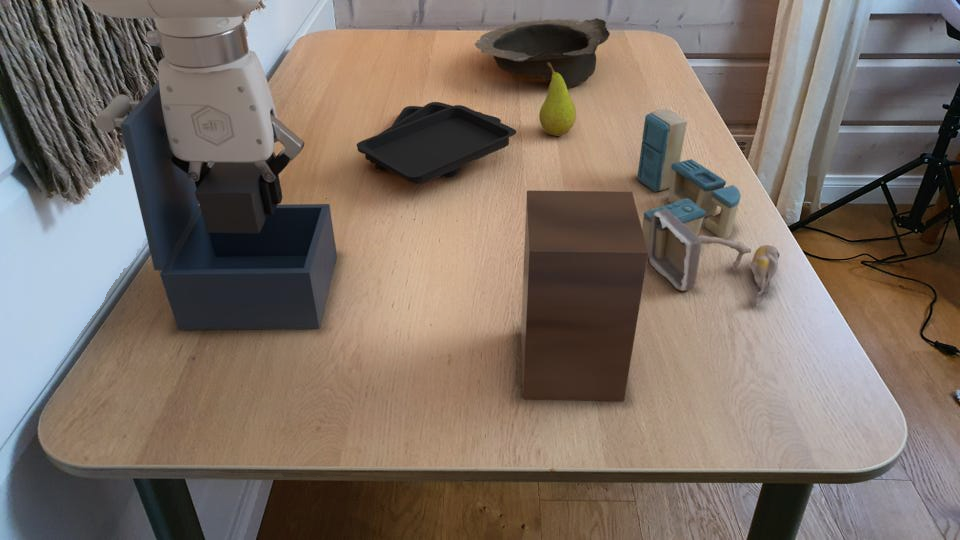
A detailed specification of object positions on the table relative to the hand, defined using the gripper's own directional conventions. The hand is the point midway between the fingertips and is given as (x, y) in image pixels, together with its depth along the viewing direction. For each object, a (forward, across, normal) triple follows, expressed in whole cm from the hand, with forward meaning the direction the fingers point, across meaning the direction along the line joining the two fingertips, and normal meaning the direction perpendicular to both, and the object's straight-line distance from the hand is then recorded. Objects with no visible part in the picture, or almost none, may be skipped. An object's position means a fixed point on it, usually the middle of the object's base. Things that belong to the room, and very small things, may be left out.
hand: (243, 206), depth 80 cm
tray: (+12, +18, +33) cm, 40 cm away
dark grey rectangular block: (+1, 0, 0) cm, 1 cm away
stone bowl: (+12, +35, +68) cm, 77 cm away
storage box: (+12, 0, 0) cm, 12 cm away
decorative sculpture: (+12, +54, +3) cm, 55 cm away
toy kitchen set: (+12, +49, +18) cm, 54 cm away
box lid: (-5, -7, 0) cm, 8 cm away
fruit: (+12, +37, +42) cm, 57 cm away
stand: (+12, +35, -12) cm, 39 cm away
